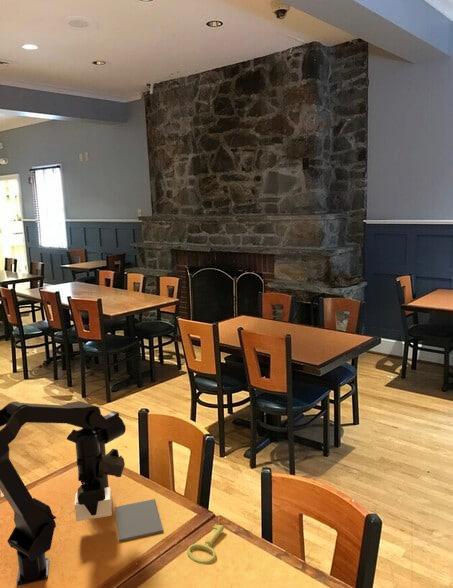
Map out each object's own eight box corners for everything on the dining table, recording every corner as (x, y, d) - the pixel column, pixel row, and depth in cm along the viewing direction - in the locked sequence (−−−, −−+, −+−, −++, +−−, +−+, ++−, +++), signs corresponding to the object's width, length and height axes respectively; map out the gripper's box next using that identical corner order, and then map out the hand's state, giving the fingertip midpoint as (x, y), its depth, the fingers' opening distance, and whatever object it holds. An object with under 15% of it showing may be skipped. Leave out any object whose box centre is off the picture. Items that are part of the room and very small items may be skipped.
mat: (163, 532, 123) (163, 529, 123) (119, 541, 120) (118, 539, 120) (155, 500, 137) (155, 498, 136) (115, 508, 134) (114, 506, 133)
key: (225, 531, 123) (224, 523, 123) (213, 566, 112) (213, 558, 111) (197, 528, 125) (197, 520, 125) (183, 562, 113) (183, 554, 113)
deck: (111, 515, 123) (110, 498, 122) (76, 521, 121) (74, 504, 120) (111, 502, 128) (110, 486, 127) (77, 508, 126) (75, 491, 125)
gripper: (124, 464, 115) (129, 523, 118) (118, 430, 133) (122, 482, 135) (75, 472, 112) (81, 533, 115) (75, 437, 130) (80, 490, 132)
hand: (93, 507), depth 124 cm, fingers closed on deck, 6 cm apart
